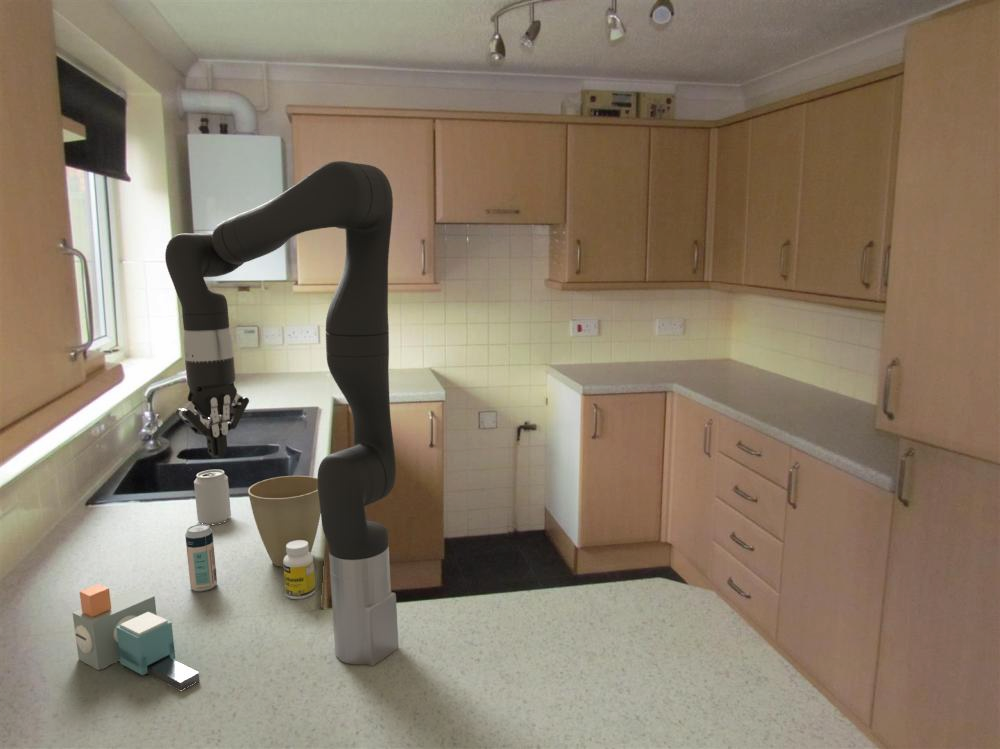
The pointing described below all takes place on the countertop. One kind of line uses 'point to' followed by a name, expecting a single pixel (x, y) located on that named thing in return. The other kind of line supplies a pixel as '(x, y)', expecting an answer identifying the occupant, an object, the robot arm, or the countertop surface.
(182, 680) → the rail
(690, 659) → the countertop surface
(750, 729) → the countertop surface
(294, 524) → the plant pot
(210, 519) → the can
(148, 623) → the box
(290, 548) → the supplement bottle
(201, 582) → the beer can
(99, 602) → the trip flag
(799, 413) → the countertop surface
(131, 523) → the countertop surface
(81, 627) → the cabinet
